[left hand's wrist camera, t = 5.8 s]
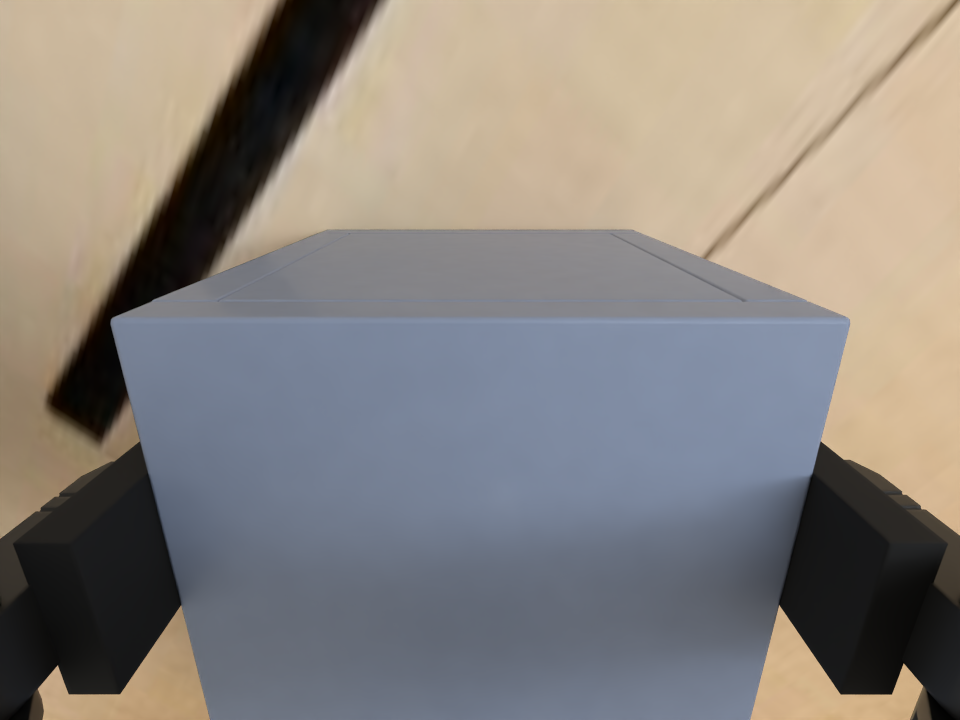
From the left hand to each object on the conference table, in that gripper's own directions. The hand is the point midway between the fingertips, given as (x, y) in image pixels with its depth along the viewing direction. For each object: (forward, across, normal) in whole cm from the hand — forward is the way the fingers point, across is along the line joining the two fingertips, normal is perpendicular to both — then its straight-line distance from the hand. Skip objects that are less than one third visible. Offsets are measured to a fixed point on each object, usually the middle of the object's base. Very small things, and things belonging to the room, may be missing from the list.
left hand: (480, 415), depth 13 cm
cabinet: (+6, 0, -5) cm, 8 cm away
